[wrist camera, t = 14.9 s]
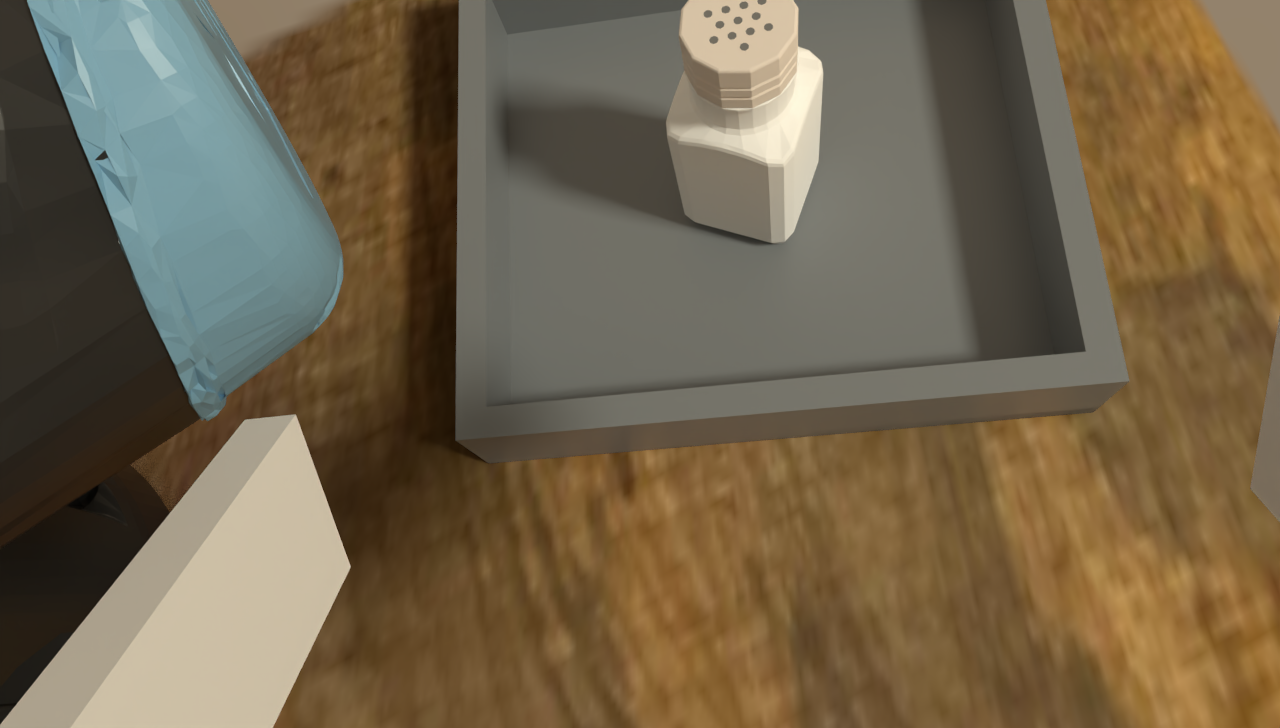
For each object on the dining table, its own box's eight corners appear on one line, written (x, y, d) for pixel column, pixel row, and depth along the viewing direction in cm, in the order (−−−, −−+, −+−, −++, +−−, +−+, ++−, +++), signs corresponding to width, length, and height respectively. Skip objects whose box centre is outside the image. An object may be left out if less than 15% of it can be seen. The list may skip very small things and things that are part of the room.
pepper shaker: (822, 155, 34) (834, -27, 25) (788, 254, 33) (787, 101, 24) (717, 129, 35) (691, -56, 26) (680, 225, 34) (641, 67, 25)
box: (488, 463, 33) (455, 440, 30) (487, 26, 39) (459, -34, 36) (1093, 412, 31) (1129, 381, 28) (998, -47, 36) (1019, -119, 33)
